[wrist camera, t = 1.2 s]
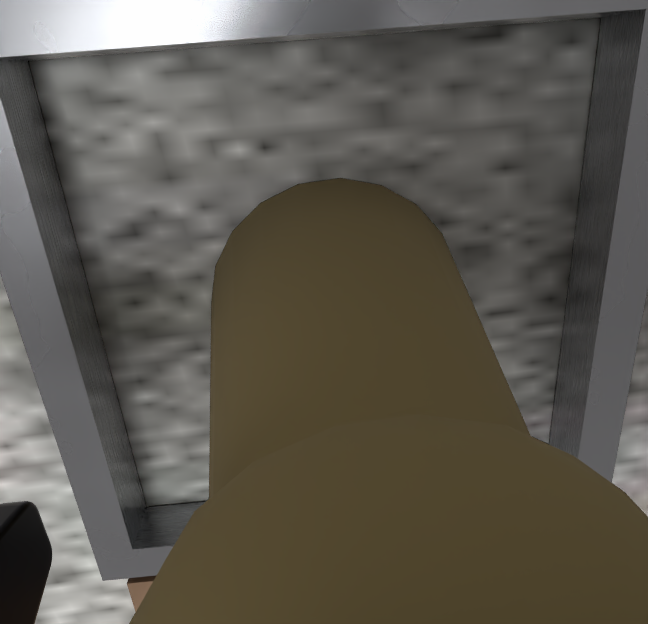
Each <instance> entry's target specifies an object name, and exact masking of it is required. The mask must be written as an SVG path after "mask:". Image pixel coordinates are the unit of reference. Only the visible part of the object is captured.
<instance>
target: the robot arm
mask: <svg viewBox="0 0 648 624" xmlns="http://www.w3.org/2000/svg"><path fill="white" fill-rule="evenodd" d="M51 562H52V548H51V544H50V541H49V538H48V536H47V533H46V530H45V528H44V525H43V522H42V520H41V517H40V514H39V511H38V509H37V507H36V506H35V505H34V504H33V503H32V502H28V501H22V502H12V503H3V504H0V624H34V623H35V620H36V616H37V613H38V609H39V606H40V602H41V599H42V595H43V592H44V588H45V584H46V581H47V577H48V574H49V570H50V567H51Z"/></svg>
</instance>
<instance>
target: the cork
mask: <svg viewBox="0 0 648 624" xmlns="http://www.w3.org/2000/svg"><path fill="white" fill-rule="evenodd" d="M129 624H648V517H647V516H646V514H645V513H644V512H643V511H642V510H641V509H640V508H639V507H638V506H637V505H636V504H635V503H634V502H633V501H632V500H631V499H630V497H629V496H628V495H627V494H626V493H625V492H624V491H622V490H621V489H619V488H618V487H617V486H615V485H614V484H612V483H611V482H610V481H608V480H607V479H605V478H604V477H603V476H601V475H600V474H598V473H597V472H596V471H594V470H593V469H591V468H590V467H589V466H587V465H586V464H584V463H583V462H582V461H580V460H579V459H577V458H576V457H575V456H573V455H571V454H569V453H566V452H564V451H562V450H560V449H558V448H556V447H553V446H551V445H549V444H547V443H545V442H542V441H540V440H538V439H536V438H534V437H531V436H530V433H529V431H528V429H527V426H526V424H525V422H524V420H523V417H522V415H521V413H520V410H519V408H518V406H517V404H516V401H515V399H514V397H513V394H512V392H511V390H510V388H509V385H508V383H507V381H506V378H505V376H504V374H503V372H502V369H501V367H500V365H499V363H498V360H497V358H496V356H495V353H494V351H493V349H492V347H491V344H490V342H489V340H488V337H487V335H486V333H485V331H484V328H483V326H482V324H481V321H480V319H479V317H478V315H477V312H476V310H475V308H474V305H473V303H472V301H471V299H470V296H469V294H468V292H467V289H466V287H465V285H464V283H463V280H462V278H461V276H460V273H459V271H458V269H457V267H456V264H455V262H454V260H453V257H452V255H451V253H450V251H449V248H448V246H447V244H446V242H445V239H444V237H443V235H442V233H441V232H440V231H439V229H438V228H437V227H436V226H435V225H434V224H433V223H432V222H431V220H430V219H429V218H428V217H427V216H426V215H425V214H424V213H423V211H422V210H421V209H420V208H419V207H418V206H417V205H416V204H414V203H413V202H411V201H409V200H407V199H405V198H403V197H402V196H400V195H398V194H396V193H394V192H393V191H391V190H389V189H387V188H385V187H384V186H382V185H377V184H371V183H366V182H360V181H354V180H349V179H343V178H337V179H330V180H323V181H316V182H309V183H303V184H297V185H295V186H293V187H291V188H289V189H288V190H286V191H284V192H282V193H280V194H278V195H276V196H274V197H272V198H270V199H268V200H266V201H264V202H262V203H260V204H259V205H258V206H257V207H256V208H255V209H254V210H253V211H252V212H251V213H250V214H249V215H248V216H247V217H246V218H245V219H244V220H243V221H242V222H241V223H240V224H239V225H238V226H237V227H236V228H235V229H234V230H233V231H232V233H231V235H230V237H229V239H228V241H227V243H226V245H225V247H224V249H223V252H222V254H221V256H220V258H219V260H218V262H217V264H216V266H215V274H214V283H213V292H212V301H211V374H210V462H209V499H208V500H207V501H206V502H205V503H204V504H203V505H201V506H200V507H199V508H198V509H197V510H195V511H194V513H193V515H192V516H191V518H190V520H189V521H188V523H187V525H186V526H185V528H184V530H183V531H182V533H181V535H180V536H179V538H178V540H177V541H176V543H175V545H174V546H173V548H172V550H171V551H170V553H169V555H168V556H167V558H166V560H165V561H164V563H163V565H162V567H161V569H160V570H159V572H158V574H157V576H156V577H155V579H154V581H153V583H152V584H151V586H150V588H149V590H148V592H147V593H146V595H145V597H144V599H143V600H142V602H141V604H140V606H139V607H138V609H137V611H136V613H135V614H134V616H133V618H132V620H131V622H130V623H129Z"/></svg>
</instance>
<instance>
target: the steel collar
mask: <svg viewBox="0 0 648 624" xmlns="http://www.w3.org/2000/svg"><path fill="white" fill-rule="evenodd" d="M589 18H601V24H600V32H599V41H598V49H597V57H596V65H595V73H594V81H593V90H592V98H591V106H590V114H589V122H588V130H587V139H586V147H585V155H584V163H583V171H582V179H581V188H580V196H579V204H578V212H577V220H576V229H575V237H574V245H573V253H572V261H571V269H570V278H569V286H568V294H567V302H566V310H565V318H564V327H563V335H562V343H561V351H560V359H559V367H558V376H557V384H556V392H555V400H554V408H553V417H552V425H551V433H550V441H549V445H551V446H553V447H556V448H558V449H560V450H562V451H564V452H566V453H569V454H571V455H573V456H575V457H576V458H577V459H579V460H580V461H582V462H583V463H584V464H586V465H587V466H589V467H590V468H591V469H593V470H594V471H596V472H597V473H598V474H600V475H601V476H603V477H604V478H605V479H607V480H608V481H610V482H611V483H612V478H613V472H614V467H615V461H616V456H617V451H618V445H619V440H620V435H621V429H622V424H623V419H624V413H625V408H626V403H627V397H628V392H629V387H630V381H631V376H632V371H633V365H634V360H635V354H636V349H637V344H638V338H639V333H640V328H641V322H642V317H643V312H644V306H645V301H646V296H647V290H648V0H0V274H1V277H2V280H3V283H4V286H5V289H6V292H7V295H8V298H9V301H10V304H11V307H12V310H13V313H14V316H15V319H16V322H17V325H18V328H19V331H20V334H21V337H22V340H23V343H24V346H25V349H26V352H27V355H28V358H29V361H30V364H31V367H32V370H33V373H34V376H35V379H36V382H37V385H38V388H39V391H40V394H41V397H42V400H43V403H44V406H45V409H46V412H47V415H48V418H49V421H50V424H51V427H52V430H53V433H54V436H55V439H56V442H57V445H58V448H59V451H60V454H61V457H62V460H63V463H64V466H65V469H66V472H67V475H68V478H69V481H70V484H71V487H72V490H73V493H74V496H75V499H76V502H77V505H78V508H79V511H80V514H81V517H82V520H83V523H84V526H85V529H86V532H87V535H88V538H89V541H90V544H91V547H92V550H93V553H94V556H95V559H96V562H97V565H98V568H99V571H100V574H101V577H102V580H103V581H105V580H115V579H125V578H135V577H145V576H155V575H157V574H158V572H159V570H160V569H161V567H162V565H163V563H164V561H165V560H166V558H167V556H168V555H169V553H170V551H171V550H172V548H173V546H174V545H175V543H176V541H177V540H178V538H179V536H180V535H181V533H182V531H183V530H184V528H185V526H186V525H187V523H188V521H189V520H190V518H191V516H192V515H193V513H194V511H195V510H197V509H198V508H199V507H200V506H201V505H203V504H204V503H205V502H197V503H187V504H176V505H166V506H155V507H146V503H145V500H144V496H143V492H142V488H141V485H140V481H139V477H138V473H137V470H136V466H135V462H134V458H133V455H132V451H131V447H130V443H129V440H128V436H127V432H126V428H125V425H124V421H123V417H122V413H121V410H120V406H119V402H118V398H117V395H116V391H115V387H114V383H113V380H112V376H111V372H110V368H109V365H108V361H107V357H106V353H105V350H104V346H103V342H102V338H101V335H100V331H99V327H98V323H97V319H96V316H95V312H94V308H93V304H92V301H91V297H90V293H89V289H88V286H87V282H86V278H85V274H84V271H83V267H82V263H81V259H80V256H79V252H78V248H77V244H76V241H75V237H74V233H73V229H72V226H71V222H70V218H69V214H68V211H67V207H66V203H65V199H64V196H63V192H62V188H61V184H60V181H59V177H58V173H57V169H56V166H55V162H54V158H53V154H52V150H51V147H50V143H49V139H48V135H47V132H46V128H45V124H44V120H43V117H42V113H41V109H40V105H39V102H38V98H37V94H36V90H35V87H34V83H33V79H32V75H31V72H30V68H29V64H28V61H30V60H44V59H57V58H70V57H84V56H97V55H110V54H123V53H137V52H150V51H163V50H177V49H190V48H203V47H217V46H230V45H243V44H257V43H270V42H283V41H297V40H310V39H323V38H336V37H350V36H363V35H376V34H390V33H403V32H416V31H430V30H443V29H456V28H470V27H483V26H496V25H510V24H523V23H536V22H549V21H563V20H576V19H589Z"/></svg>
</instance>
